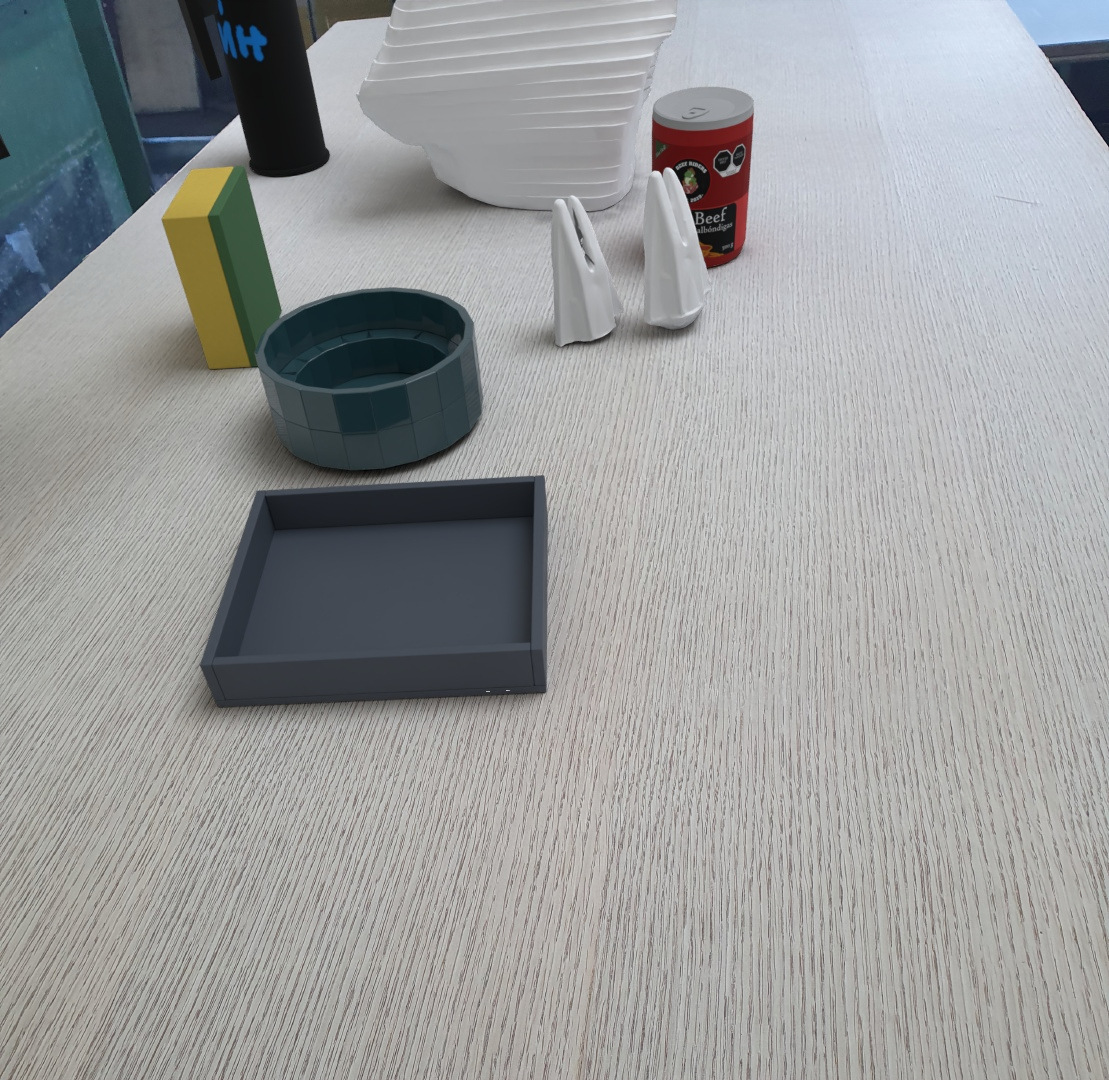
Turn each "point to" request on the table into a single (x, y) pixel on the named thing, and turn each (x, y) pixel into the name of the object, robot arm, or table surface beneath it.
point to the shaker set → (669, 266)
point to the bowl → (371, 377)
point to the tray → (385, 594)
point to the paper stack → (520, 93)
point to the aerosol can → (272, 85)
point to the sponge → (222, 264)
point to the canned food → (708, 161)
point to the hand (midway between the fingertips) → (104, 102)
